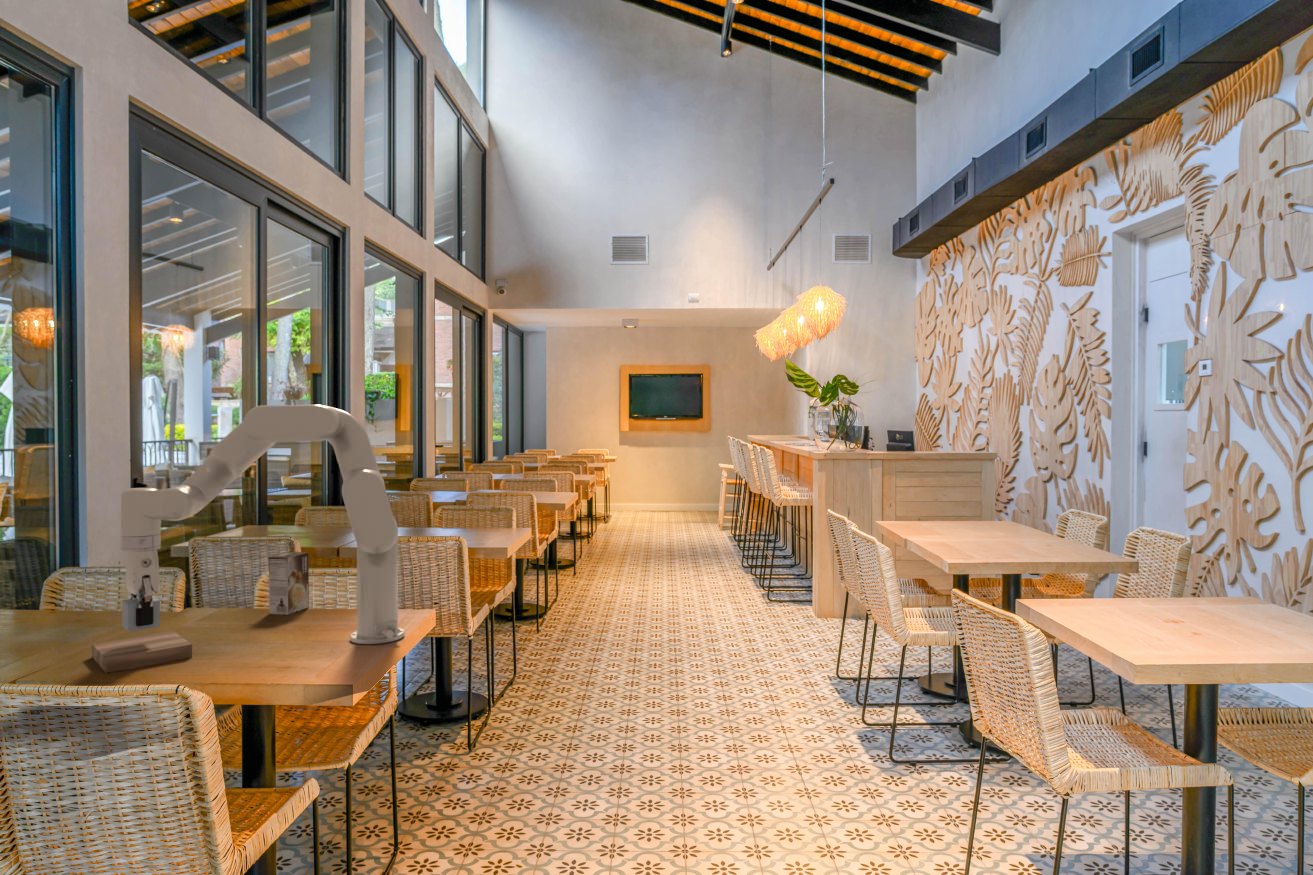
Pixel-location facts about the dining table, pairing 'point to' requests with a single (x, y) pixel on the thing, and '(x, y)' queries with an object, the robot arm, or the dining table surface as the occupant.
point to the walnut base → (141, 651)
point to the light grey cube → (130, 615)
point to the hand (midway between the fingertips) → (141, 621)
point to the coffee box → (288, 582)
